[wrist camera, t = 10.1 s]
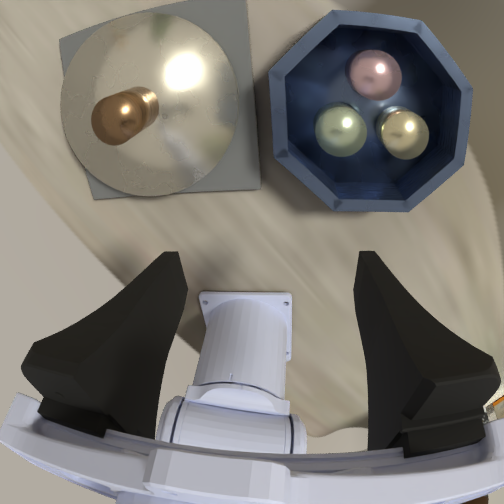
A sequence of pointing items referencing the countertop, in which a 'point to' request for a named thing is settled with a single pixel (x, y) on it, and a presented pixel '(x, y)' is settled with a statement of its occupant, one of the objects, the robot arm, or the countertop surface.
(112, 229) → the countertop surface
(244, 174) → the coaster
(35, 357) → the robot arm
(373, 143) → the tin
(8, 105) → the countertop surface
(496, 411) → the supplement box
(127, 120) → the lid
